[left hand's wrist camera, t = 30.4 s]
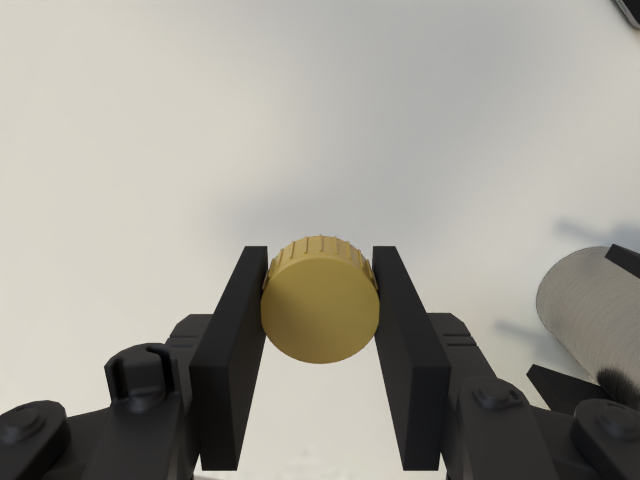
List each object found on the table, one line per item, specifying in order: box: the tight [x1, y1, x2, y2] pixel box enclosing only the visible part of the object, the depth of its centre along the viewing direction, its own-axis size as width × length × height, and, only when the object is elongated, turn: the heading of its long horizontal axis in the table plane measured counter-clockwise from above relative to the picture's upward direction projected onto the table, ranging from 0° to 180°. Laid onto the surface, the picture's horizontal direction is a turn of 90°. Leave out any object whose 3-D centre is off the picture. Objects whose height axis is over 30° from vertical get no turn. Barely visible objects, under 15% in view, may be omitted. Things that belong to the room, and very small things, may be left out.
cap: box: [260, 235, 380, 364], centre depth 14 cm, size 4×4×2 cm
